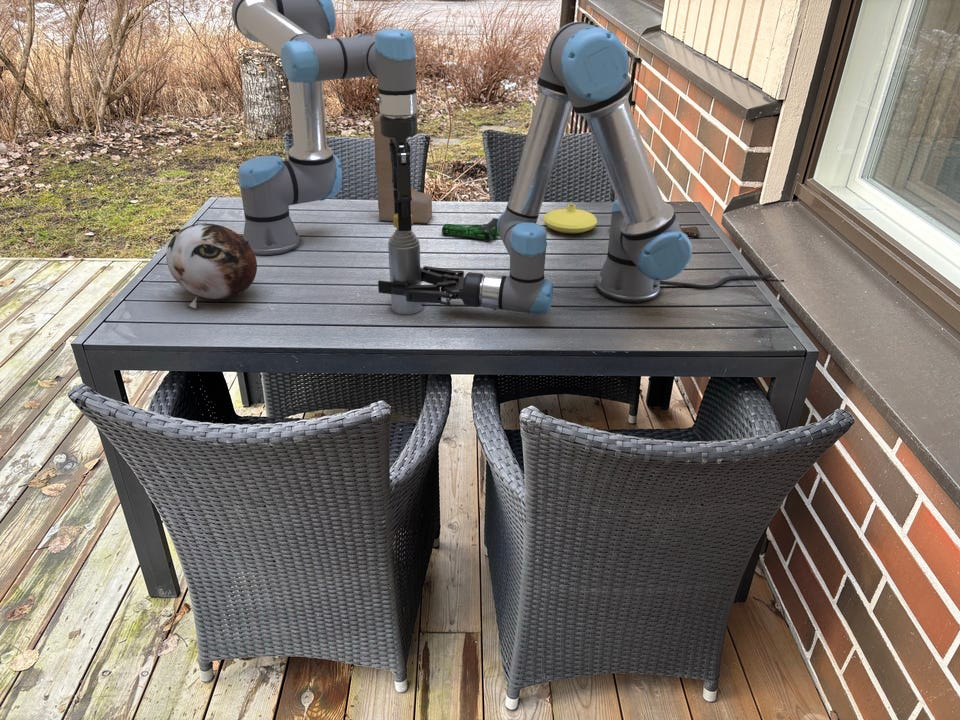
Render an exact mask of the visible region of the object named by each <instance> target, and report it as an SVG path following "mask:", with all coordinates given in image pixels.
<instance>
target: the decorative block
mask: <svg viewBox="0 0 960 720" xmlns="http://www.w3.org/2000/svg"><path fill="white" fill-rule="evenodd" d="M381 115H383V114H381V113H380V112H379V113H378V114H376V115H375V117H373V118H372V125H373V126H372V127H373V142H374V159H375V174H376V175H375V177H376V186H377V187H376V192H377V206H378V219H379V221H381V222H393V216H394V215H395V211H394V190H396V189H394V188H393V183H392V162H391V152H390V148H389V143H391V142H390V138H388V137H385V136H383V135H382V134H381V132H380V117H381ZM411 197H412V201H411V215H412V217H413V224H428V223H429V222H430V219H431V218H432V216H433V196H432V194H430V193H425V192H421V191H417V190H416V189H415V188H413V187H412V186H411Z"/></svg>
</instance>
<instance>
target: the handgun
mask: <svg viewBox="0 0 960 720" xmlns="http://www.w3.org/2000/svg"><path fill="white" fill-rule="evenodd" d="M498 219H499V218H497V217H492V219H491V220H490V221H489V222H488V223H483V224H482V225H479V224H472V225H459V224H453V223H445V224H443V226H442V227H441V235H446V236H454V237H462V238H469V239H470V238H471V239H474V240H479V241H484V242H491V241H492V240H494V239H495V238H497V237H500V236H499V234H498V229H497V222H498Z"/></svg>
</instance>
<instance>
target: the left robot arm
mask: <svg viewBox="0 0 960 720" xmlns="http://www.w3.org/2000/svg"><path fill="white" fill-rule="evenodd" d="M231 17H232V21H233V24H234V26H235V27H236V29H237V30H238V31H239V33H240V34H241V35H243V37H245V38H246V39H248V40H250V41H251V42H254V43H260V44H261V45H262V46H264V47H265V48H266V49H268V50H269V51H270V52H272V53H273V54H274V55H275V56H277V57H278V58H279V59H280V62H281V63H280V64H281V67H282V71H283V73H284V74H285V77H286V79H287V80H288V92H289V103H290V114H291V115H290V116H291V129H292V139H293V141H292V143H293V145H292V146H291V147H290V148H289V149H288V159H287V160H283V158H282V157H281V156H279V155H273V154H270V155H260V156H257V157H253V158H250V159H248V160H245V161H244V162H243V163H241V165H240V166H239V167H238V170H237V174H238V186H239V190H240V196H241V201H242V208H243V212H244V213H243V215H244V219H245V220H244V226H243V228H244V229H243V234H242V235H240V234H239V235H240V236H241V237H243V238H244V239H245V240H246V241H249V242H248V244H249V245H250V247H251V248H252V250H253V252H254V254H255V256H256V255H257V256H275V255H281V254H282V255H283V254H285V253H289V252H291V251H293V250H296V249H297V248H298V247H299V246H300V244H301V241H300V235H299V233H298V231H297V229H296V227H295V225H294V223H293V220H292V218H291V216H290V207H289V206H293V205H299V204H306V203H312V202H318V201H320V202H321V201H325V200H327V199H332V198H334V197H336V196H337V195H338V194H339V193H340V191H341V189H342V185H343V169H342V168H341V166H342V164H341V161H340V160H339V158H338V157H337V155H335V154H334V152H333V149H332V148H331V147H330V146H328V143H327V124H326V123H327V121H326V105H325V87H324V86H325V85H324V81H335V80H347V79H358V78H369V77H371V78H376V79H377V92H378V97H376V98H375V103H376V104H379V105H378V106H379V107H378V109H379V114H380V113H381V114H383V115H381V117H380V132H381V134H382V135H383V136H385V137H388V138H390V142H391V143H389V148H390V152H391V162H392V183H393V188H394V189H396V190H394V211H395V214H397V213H398V230H399V231H412V232H413V230H412V229H413V228H412V227H411V201H412V197H411V187H412V183H411V181H412V180H411V153H412V151H411V145H410V144H409V142H408V141H407V140H408V139H409V138H412V137H415V136H417V134H418V130H419V129H418V116H417V115H416V114H417V113H418V93H417V59H416V58H417V57H416V56H417V51H416V44H415V36H414V34H413V32H412V31H410V30H409V29H399V28H386V29H385V28H384V29H379V30H378V31H377V32H376V33H375V35H374V34H371V33H368V34H364V33H361V34H356V35H355V36H350V37H332V38H328V36H331V35H332V34H334V33H335V31H336V26H337V18H336V10H335V7H334V3H333V0H233V2H232V7H231ZM180 230H182V229H180V228H173V229H171V230H170V231H169V232H168V235H173V234H174V233H178V232H179V231H180Z"/></svg>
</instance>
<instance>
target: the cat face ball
mask: <svg viewBox="0 0 960 720" xmlns="http://www.w3.org/2000/svg"><path fill="white" fill-rule="evenodd" d="M248 242H249V241H246V240H245V239H244V238H243V237H241V236H240V234H239V233H238V232H236V231H234V230H233V229H231V228H229V227H226V226H223V225H220V224H215V223H205V222H204V223H195V224H191V225H188V226H186V227H183V228H182V229H181V230H180V231H179V232H176V233H175V234H174V235H173V237H171V239H170V241H169V243H168V245H167V248H166V254H165V260H166V265H167V268H168V271H169V273H170V275H171V276H172V277H173V279H174V280H175V281H176V282H177V284H178V285H180V286H181V287H182V288H183V289H185V290H186V291H187V292H189V293H191V294H194V295H195V298H194V299H193V300H192V302H190V303H189V304H188V306H189V307H191V308H192V309H197V308H198V307H197V298H198V297H201V298H205V299H210V300H226V299H230V298H233V297H236V296H238V295H241V294H242V293H244V292H245V291H247V290H248V289H249V288H250V286H251V285H252V284H253V282H254V280H255V278H256V275H257V271H258V262H257V257H256V254H254V252H253V250H252V248H251V247H250V245H249V244H248Z"/></svg>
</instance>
